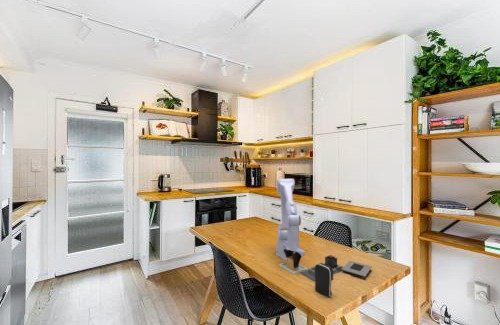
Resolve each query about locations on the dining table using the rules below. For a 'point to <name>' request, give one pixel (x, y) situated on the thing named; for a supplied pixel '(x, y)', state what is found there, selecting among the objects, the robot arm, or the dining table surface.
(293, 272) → the tray
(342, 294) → the dining table surface
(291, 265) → the plug
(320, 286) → the battery charger
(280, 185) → the robot arm
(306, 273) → the pdu strip
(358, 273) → the electrical outlet
